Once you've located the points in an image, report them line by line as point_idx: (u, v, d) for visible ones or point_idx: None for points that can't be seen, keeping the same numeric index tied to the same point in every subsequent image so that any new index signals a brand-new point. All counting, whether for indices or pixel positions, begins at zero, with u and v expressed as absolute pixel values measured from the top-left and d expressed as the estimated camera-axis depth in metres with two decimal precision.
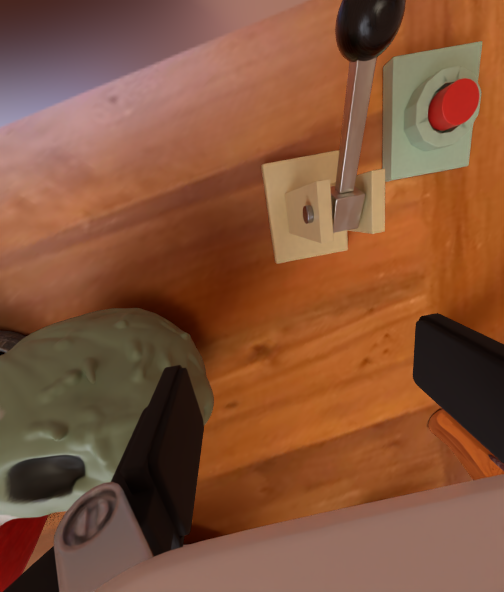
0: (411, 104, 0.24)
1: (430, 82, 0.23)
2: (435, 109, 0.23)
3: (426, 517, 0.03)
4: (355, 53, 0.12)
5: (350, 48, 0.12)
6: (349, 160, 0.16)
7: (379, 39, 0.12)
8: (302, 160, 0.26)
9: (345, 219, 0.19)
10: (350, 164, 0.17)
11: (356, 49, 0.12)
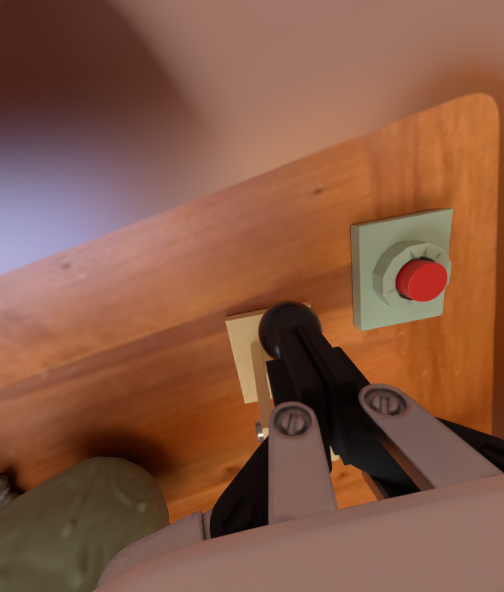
0: (378, 271, 0.23)
1: (396, 258, 0.21)
2: (402, 285, 0.22)
3: (426, 517, 0.03)
4: None
5: None
6: None
7: None
8: None
9: None
10: None
11: None
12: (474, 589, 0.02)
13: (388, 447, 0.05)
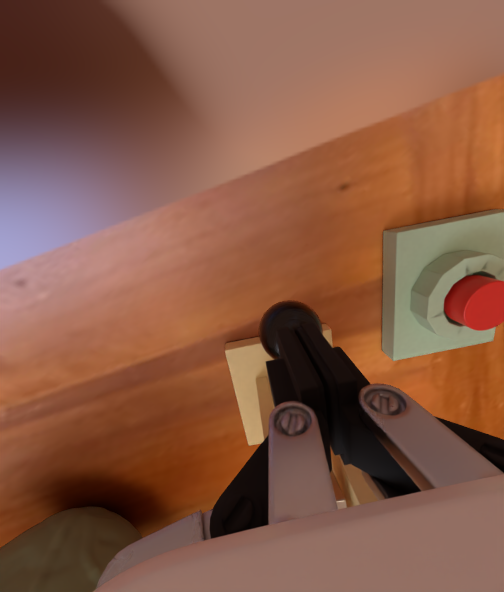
0: (421, 290, 0.18)
1: (448, 274, 0.16)
2: (454, 308, 0.17)
3: (426, 517, 0.03)
4: None
5: (273, 358, 0.12)
6: None
7: None
8: None
9: None
10: None
11: None
12: (474, 589, 0.02)
13: (388, 447, 0.05)
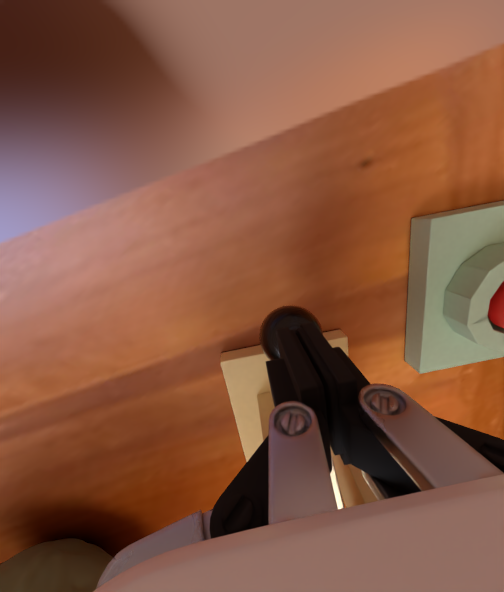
0: (459, 290, 0.14)
1: (496, 270, 0.13)
2: (503, 312, 0.13)
3: (426, 517, 0.03)
4: None
5: (274, 359, 0.11)
6: None
7: None
8: None
9: None
10: None
11: None
12: (474, 589, 0.02)
13: (388, 447, 0.05)
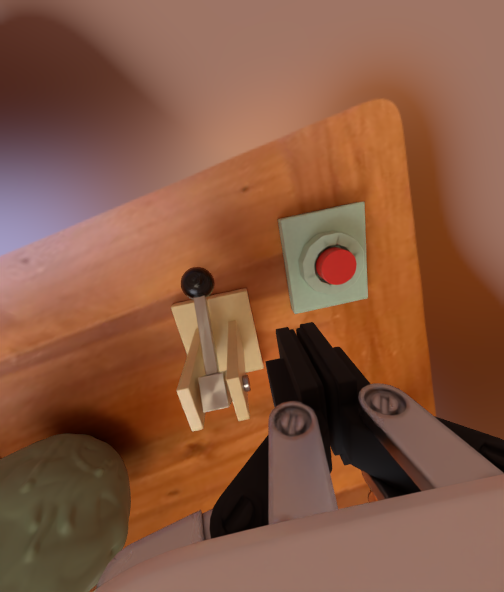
0: (301, 259, 0.25)
1: (312, 246, 0.24)
2: (319, 270, 0.24)
3: (426, 517, 0.03)
4: (189, 294, 0.22)
5: (185, 293, 0.22)
6: (206, 349, 0.21)
7: (195, 287, 0.22)
8: (208, 302, 0.28)
9: (211, 397, 0.20)
10: (207, 352, 0.21)
11: (187, 292, 0.22)
12: (474, 589, 0.02)
13: (388, 447, 0.05)
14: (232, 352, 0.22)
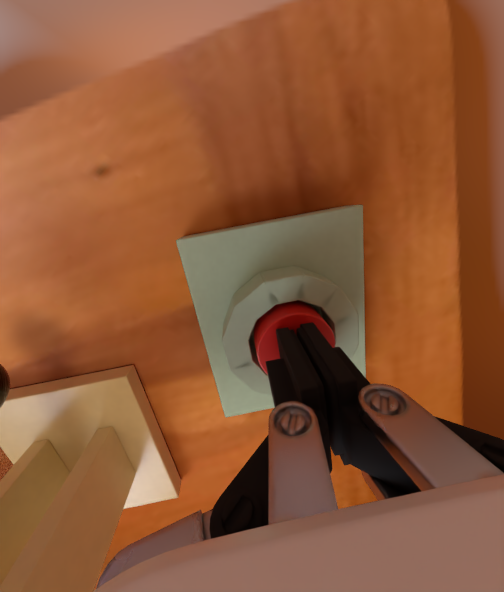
0: (224, 326, 0.12)
1: (242, 305, 0.11)
2: None
3: (426, 517, 0.03)
4: None
5: None
6: None
7: None
8: (49, 397, 0.14)
9: None
10: None
11: None
12: (474, 589, 0.02)
13: (388, 447, 0.05)
14: None
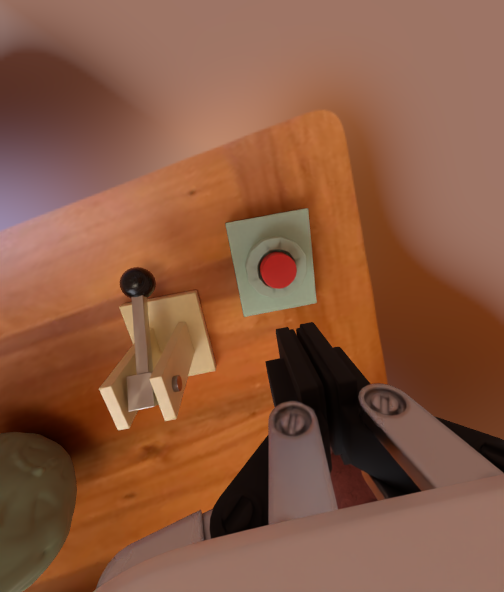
0: (246, 262, 0.26)
1: (254, 250, 0.25)
2: (261, 273, 0.25)
3: (426, 517, 0.03)
4: (126, 294, 0.23)
5: (123, 292, 0.23)
6: (139, 348, 0.22)
7: (131, 287, 0.22)
8: (157, 302, 0.28)
9: (138, 396, 0.20)
10: (140, 351, 0.22)
11: (125, 292, 0.22)
12: (474, 589, 0.02)
13: (388, 447, 0.05)
14: (167, 352, 0.22)
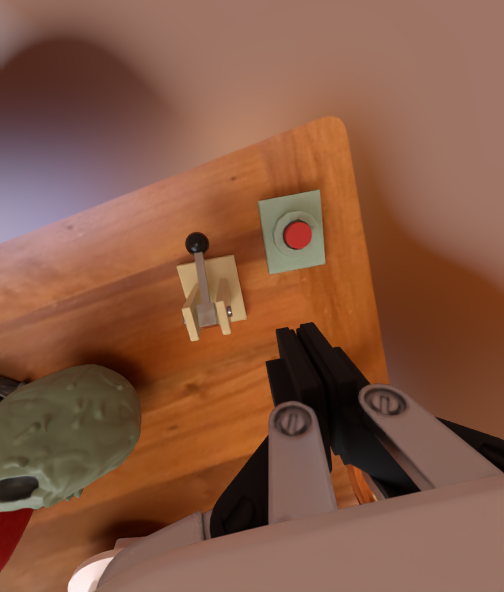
0: (273, 230, 0.35)
1: (281, 220, 0.34)
2: (285, 238, 0.34)
3: (426, 517, 0.03)
4: (191, 250, 0.32)
5: (188, 249, 0.32)
6: (202, 287, 0.31)
7: (195, 244, 0.31)
8: None
9: (205, 317, 0.29)
10: (203, 289, 0.31)
11: (190, 249, 0.31)
12: (474, 589, 0.02)
13: (388, 447, 0.05)
14: (221, 291, 0.31)
